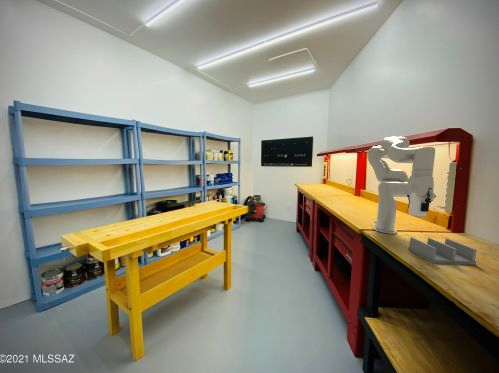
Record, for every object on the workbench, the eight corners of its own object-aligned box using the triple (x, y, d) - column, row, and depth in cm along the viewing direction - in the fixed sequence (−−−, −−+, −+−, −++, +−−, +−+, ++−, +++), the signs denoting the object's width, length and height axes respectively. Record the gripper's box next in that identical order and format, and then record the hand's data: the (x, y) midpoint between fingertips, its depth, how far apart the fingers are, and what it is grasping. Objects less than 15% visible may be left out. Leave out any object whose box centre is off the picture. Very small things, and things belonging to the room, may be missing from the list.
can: (418, 217, 88) (421, 192, 87) (405, 214, 95) (407, 190, 94) (429, 217, 90) (432, 192, 89) (415, 214, 96) (418, 190, 95)
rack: (408, 249, 93) (409, 236, 92) (444, 250, 93) (446, 238, 92) (433, 263, 80) (435, 248, 80) (475, 264, 80) (478, 250, 79)
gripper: (400, 172, 99) (396, 206, 101) (430, 173, 82) (426, 213, 83) (414, 173, 99) (411, 206, 100) (448, 173, 82) (443, 214, 83)
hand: (417, 209), depth 92 cm, fingers closed on can, 6 cm apart
